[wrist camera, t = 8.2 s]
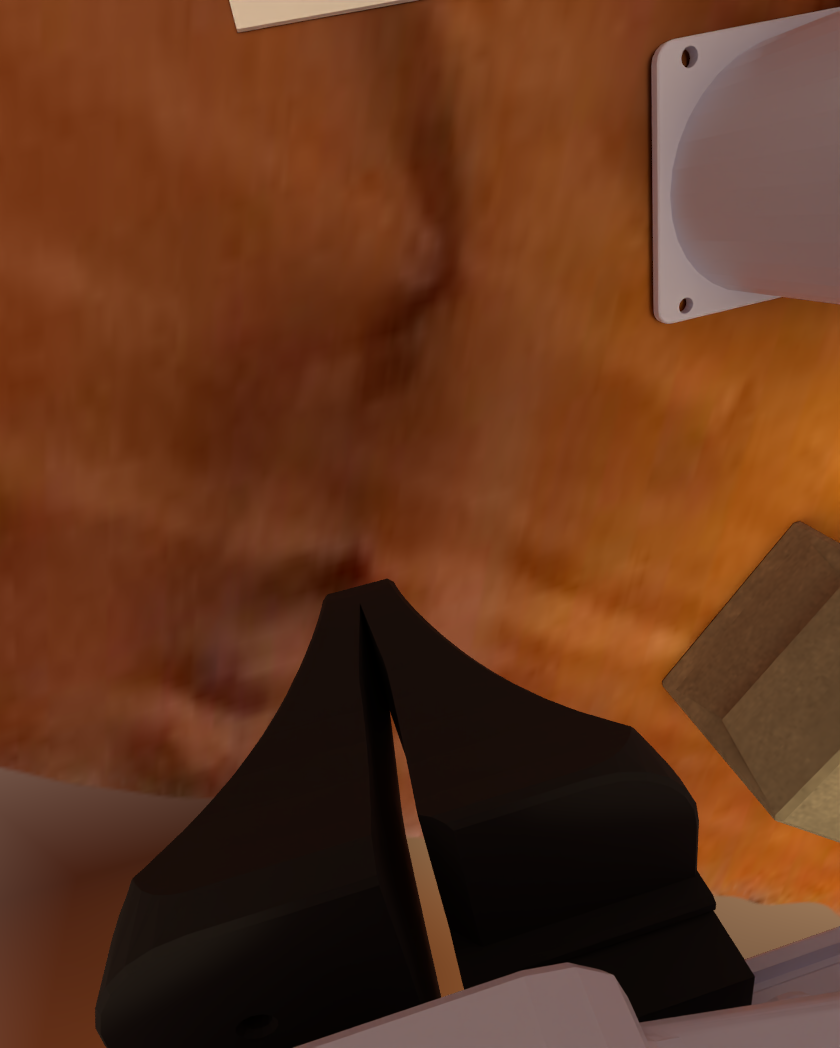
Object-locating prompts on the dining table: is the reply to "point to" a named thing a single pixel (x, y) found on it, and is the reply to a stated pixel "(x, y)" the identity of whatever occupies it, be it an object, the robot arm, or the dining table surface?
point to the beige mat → (295, 10)
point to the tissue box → (776, 682)
